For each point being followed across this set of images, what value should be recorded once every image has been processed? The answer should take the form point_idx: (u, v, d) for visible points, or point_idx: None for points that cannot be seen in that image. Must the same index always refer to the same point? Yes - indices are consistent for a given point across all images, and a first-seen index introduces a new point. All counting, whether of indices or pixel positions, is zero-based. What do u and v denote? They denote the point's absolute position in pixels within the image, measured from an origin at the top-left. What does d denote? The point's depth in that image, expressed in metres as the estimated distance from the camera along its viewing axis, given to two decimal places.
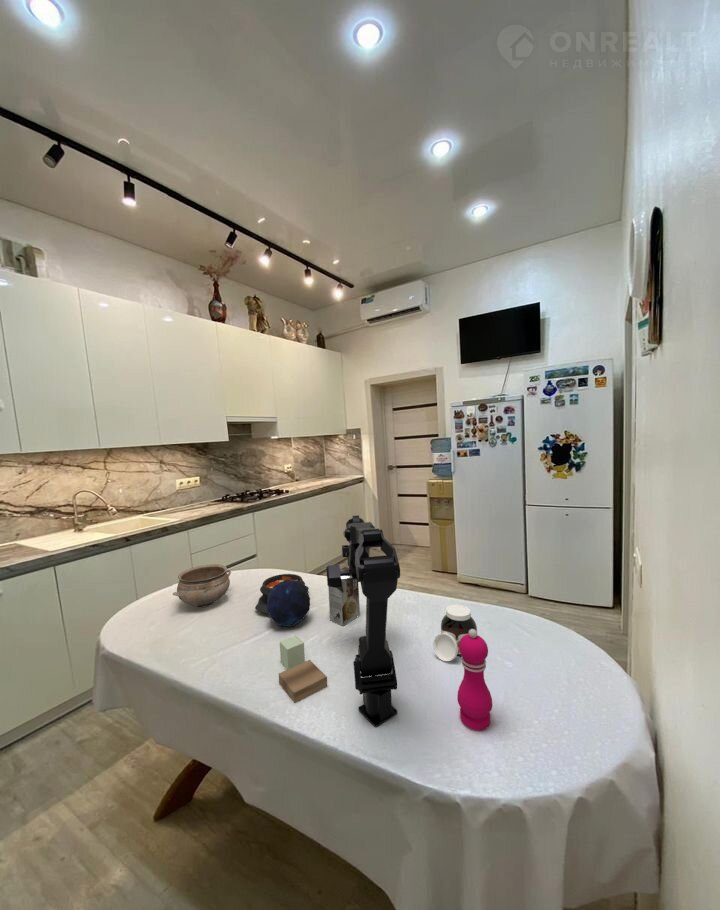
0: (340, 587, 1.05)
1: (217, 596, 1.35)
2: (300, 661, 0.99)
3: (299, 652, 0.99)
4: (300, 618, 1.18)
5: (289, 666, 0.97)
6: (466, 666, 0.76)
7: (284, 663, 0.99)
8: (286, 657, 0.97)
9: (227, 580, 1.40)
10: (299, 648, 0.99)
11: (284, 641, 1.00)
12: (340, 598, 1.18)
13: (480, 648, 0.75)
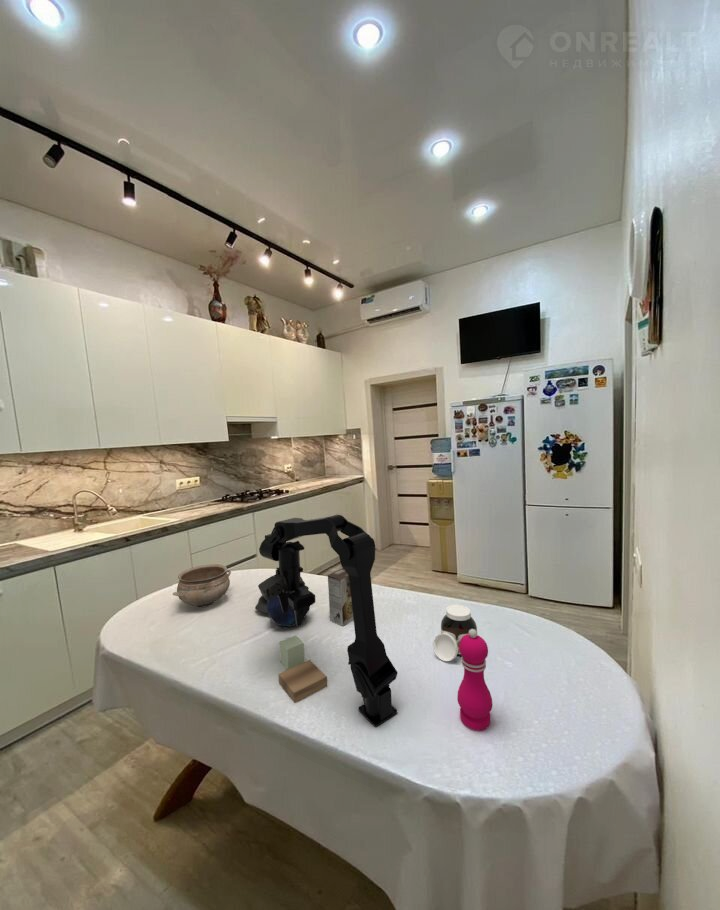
0: None
1: (217, 596, 1.35)
2: (300, 661, 0.99)
3: (299, 652, 0.99)
4: None
5: (289, 666, 0.97)
6: (466, 666, 0.76)
7: (284, 663, 0.99)
8: (286, 657, 0.97)
9: (227, 580, 1.40)
10: (299, 648, 0.99)
11: (284, 641, 1.00)
12: (340, 598, 1.18)
13: (480, 648, 0.75)
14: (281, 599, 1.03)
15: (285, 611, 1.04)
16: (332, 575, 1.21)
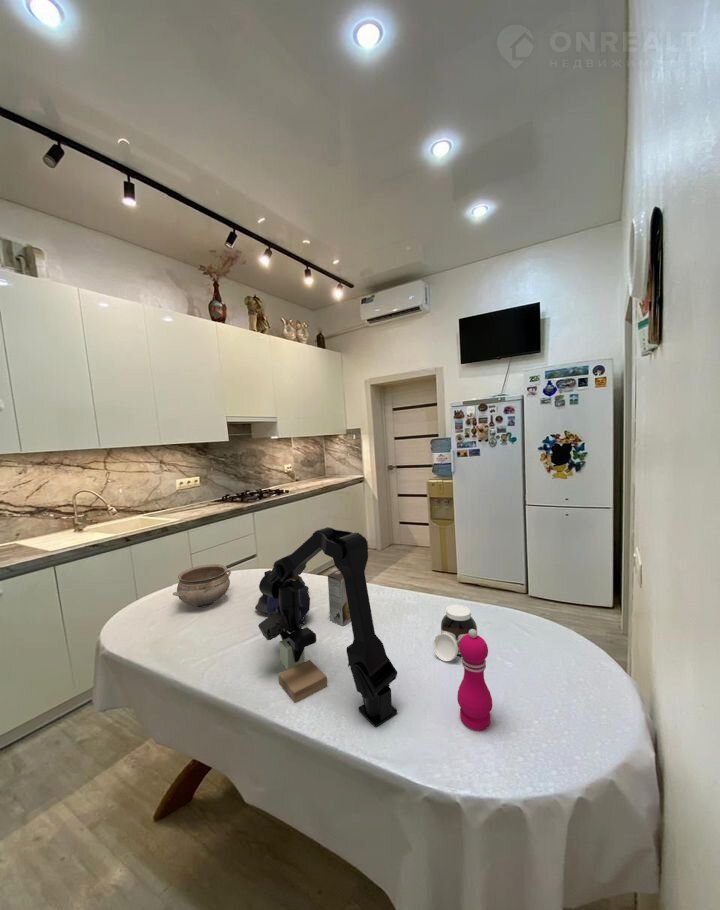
0: None
1: (217, 596, 1.35)
2: (300, 661, 0.99)
3: None
4: None
5: (289, 666, 0.97)
6: (466, 666, 0.76)
7: (284, 663, 0.99)
8: (286, 657, 0.97)
9: (227, 580, 1.40)
10: None
11: (284, 641, 1.00)
12: (340, 598, 1.18)
13: (480, 648, 0.75)
14: None
15: None
16: (332, 575, 1.21)
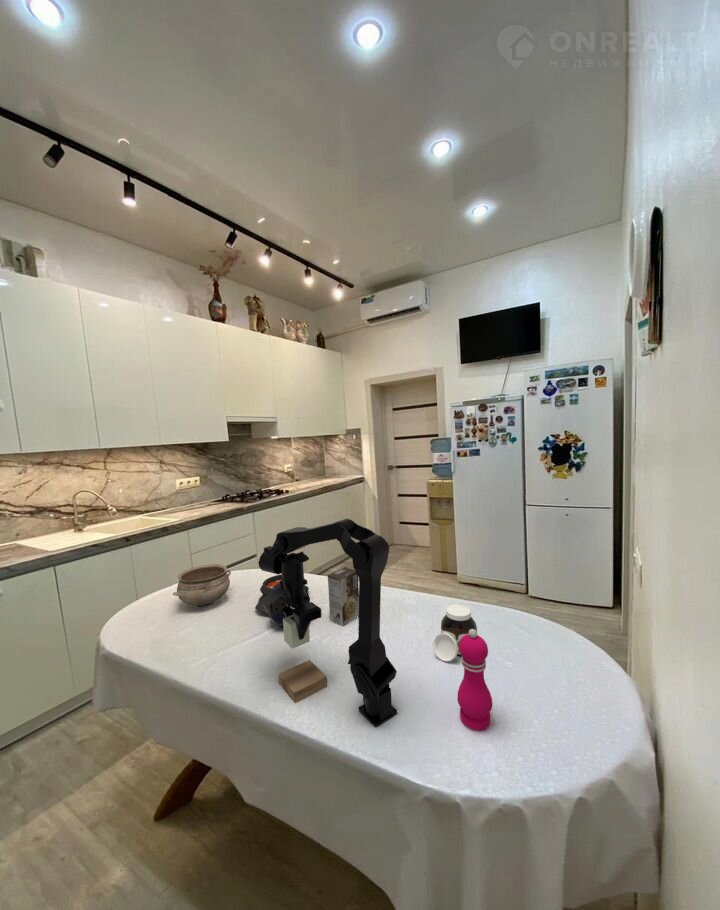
0: None
1: (217, 596, 1.35)
2: (304, 639, 0.94)
3: None
4: None
5: (293, 643, 0.92)
6: (466, 666, 0.76)
7: (288, 641, 0.93)
8: (290, 634, 0.92)
9: (227, 580, 1.40)
10: None
11: (288, 618, 0.95)
12: (340, 598, 1.18)
13: (480, 648, 0.75)
14: (288, 616, 0.97)
15: None
16: (332, 575, 1.21)
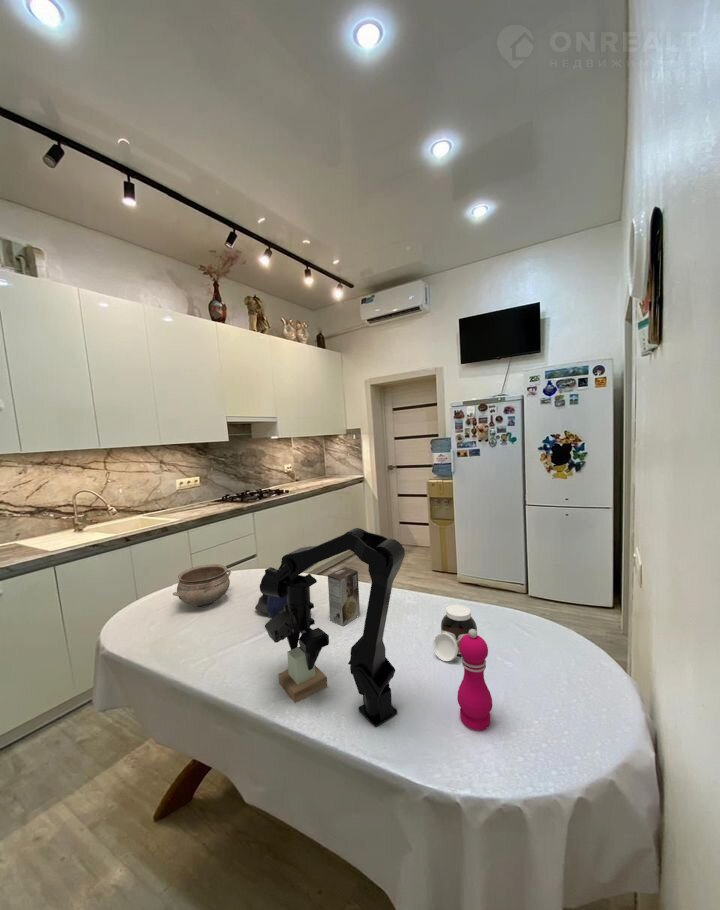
0: None
1: (217, 596, 1.35)
2: (310, 674, 0.89)
3: None
4: None
5: (298, 679, 0.88)
6: (466, 666, 0.76)
7: (292, 676, 0.89)
8: (295, 669, 0.88)
9: (227, 580, 1.40)
10: None
11: (292, 651, 0.91)
12: (340, 598, 1.18)
13: (480, 648, 0.75)
14: (289, 638, 0.94)
15: None
16: (332, 575, 1.21)
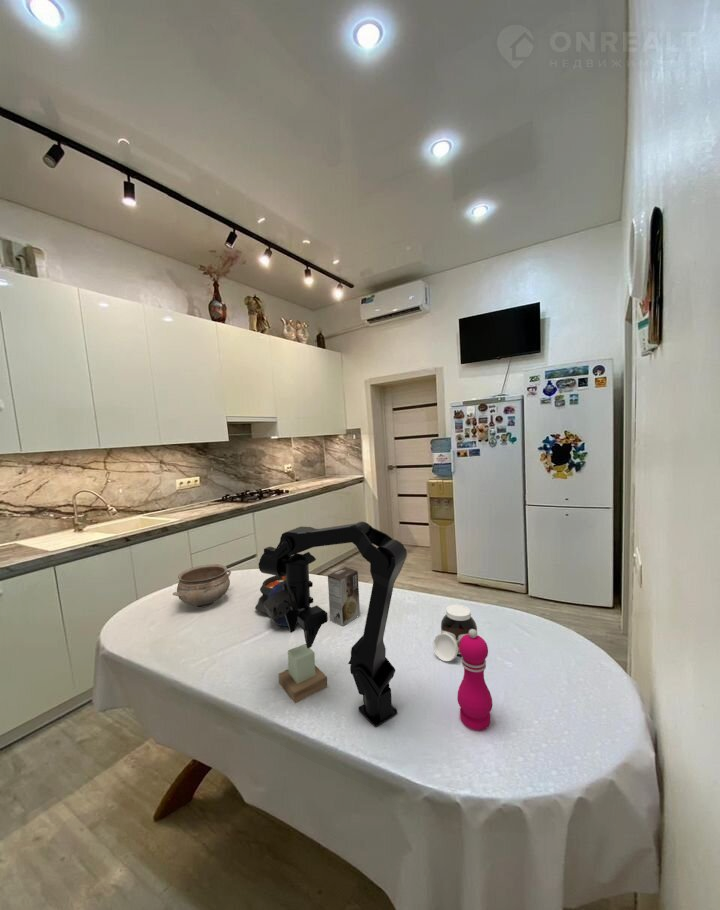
0: None
1: (217, 596, 1.35)
2: (310, 673, 0.90)
3: (309, 663, 0.90)
4: None
5: (298, 678, 0.88)
6: (466, 666, 0.76)
7: (293, 675, 0.90)
8: (295, 668, 0.88)
9: (227, 580, 1.40)
10: (309, 658, 0.89)
11: (293, 650, 0.91)
12: (340, 598, 1.18)
13: (480, 648, 0.75)
14: (288, 617, 0.94)
15: (292, 630, 0.94)
16: (332, 575, 1.21)
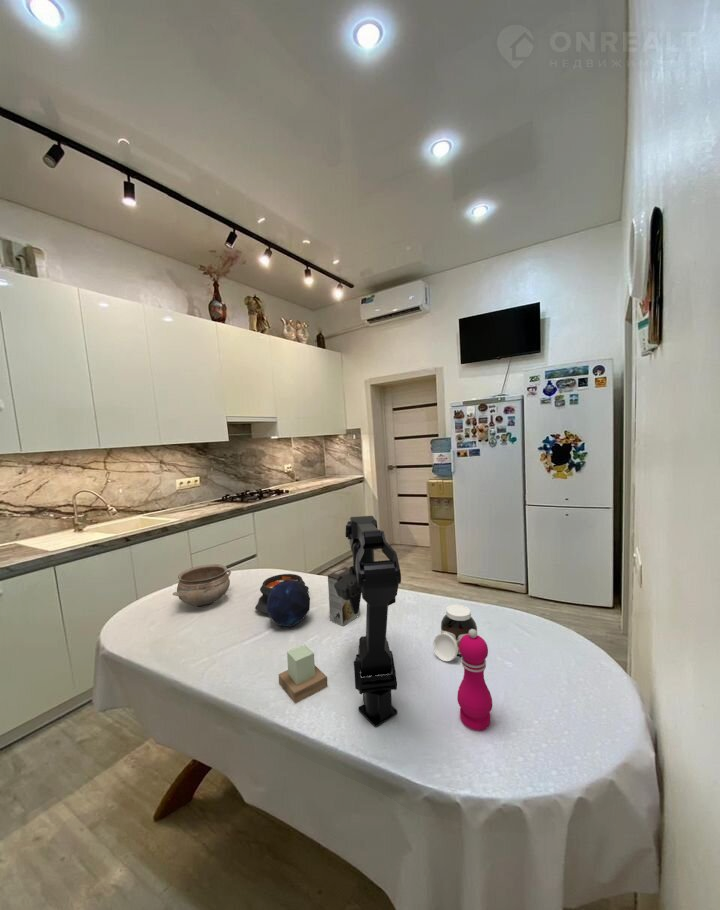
0: None
1: (217, 596, 1.35)
2: (309, 674, 0.89)
3: (309, 663, 0.89)
4: (300, 618, 1.18)
5: (298, 679, 0.88)
6: (466, 666, 0.76)
7: (292, 676, 0.89)
8: (294, 669, 0.88)
9: (227, 580, 1.40)
10: (309, 659, 0.89)
11: (292, 651, 0.91)
12: (340, 598, 1.18)
13: (480, 648, 0.75)
14: (352, 599, 1.00)
15: (356, 612, 1.00)
16: (332, 575, 1.21)
